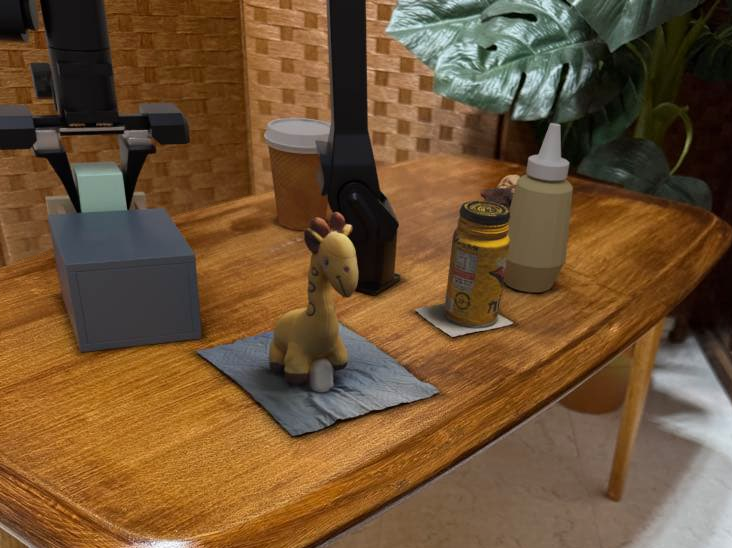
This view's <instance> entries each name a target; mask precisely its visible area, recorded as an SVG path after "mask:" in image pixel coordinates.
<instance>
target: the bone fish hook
mask: <svg viewBox="0 0 732 548" xmlns="http://www.w3.org/2000/svg"><path fill="white" fill-rule="evenodd" d="M520 177H521V176H520V175H518V174H508V175H506V176H504V177H503V178H502V179H501V181H500V182H499V183H498V185H497V187H495V188H492V189H491V188H486V189H482V190H480V194H479V195H480V196H481V197H482V198H483V199H484V201H487V202H494V203H498V204H501V205H503V206H505V207H506V208H507V209H508V210H510V206H511V202H512V198H513V194H514V190H515V186H516V182H517V179H519V178H520Z"/></svg>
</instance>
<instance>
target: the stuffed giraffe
mask: <svg viewBox="0 0 732 548" xmlns="http://www.w3.org/2000/svg"><path fill="white" fill-rule="evenodd" d="M328 221H329V223H327V222H326V220H323V219H321V218H314V219H313V220H312V221H311V224H310V228H309V229H305V230H304V232H303V234H304V235H303V240H304V243H305V245H306V248H307V249H308V250H309V251H310V252H311V256H310V263H309V269H308V273H307V300H308V303H307V307H302V308H296V309H293V310H290V311H288V312H286V313H285V314H283V315H282V316H281V317H280V318H279V320H278V321H277V322H276V325H275V326H274V330H273V331H271V330H270V331H266V332H262V333H259V334H256V335H253V336H248V337H244V338H239V339H237V340H235V341H234V342H233V343H226V344H219V345H217V346H214V347H211V348H205V349H199V350H196V351H195V352H196V353H197V354H199V355H200V356H201V357H203V358H204V359H205V360H207V361H209V362H210V363H212V365H214V366H215V367H216V368H217V369H219V370H220V371H222V372H223V373H224V374H225V375H227V376H228V377H230V378H231V379H232V380H234V381H235V382H236V383H237V384H239V386H240V387H242V388H243V389H244V390H245V391H246V392H247V393H249V394H250V396H251V397H253V399H254V400H255V401H256V402H258V403H259V404H260V405H261V406H262V407H263V408H264V409H265V410H266V411H267V412H269V414H270V415H272V417H273V418H274V420H276V421H277V422H278V424H279V425H281V427H282V428H283V429H284V430H286V431H287V432H288V433H289V434H290V435H291V436H293V437H294V436H297V435H298V436H300V435H303V434H305V433H311V432H316V431H319V430H322V429H324V428H326V427H329V426H331V425H333V424H334V423H336V421H337V420H339V419H340V420H345V419H346V420H347V419H350V418H356V417H359V416H363V415H365V414H367V413H370V412H371V411H379V410H384V409H387V408H389V407H393V406H397V405H400V404H402V403H404V404H405V403H412V402H414V401H418V400H423V399H427V398H430V397H433V395H436V394H437V393H440V390H439V389H438V388H436V387H435V386H434V385H433V384H431V383H428V382H423V381H421V380H419V379H418V378H417V377H415V375H413V374H412V373H411V372H409V371H408V369H406V367H404V366H402V364H401V363H400V362H399V361H398V360H396V359H395V358H392V356H390V355H389V354H387V353H386V352H384V351H382V350H381V349H380V348H378V346H377V345H375V344H374V343H372V342H370V341H369V340H368V339H366V338H365V337H363V336H362V335H360V334H358V333H356V332H354V331H353V330H351V329H350V328H348V327H347V326H345V325H344V324H342V323H341V322H339V318H338V315H337V312H336V309H337V308H336V305H335V303H334V297H333V294H332V290H331V287H332V288H333V290H334V291H335V292H337V293H338V294H339V295H340V296H341V297H342V298H350V297H352V295H353V294H354V292H355V291H356V290H355V289H356V287H357V282H358V266H357V258H356V252H355V248H354V246H353V243H352V242H351V241H350V239H349V238H348V236H349V235H350V234H351V233H352V229H353V228H352V225H349V224H345V219H344V217H343V216H342V215H341V214H340V213H338V212H334V213H333V212H332V214H331V215H330V217H329V220H328Z"/></svg>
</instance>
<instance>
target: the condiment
mask: <svg viewBox="0 0 732 548" xmlns="http://www.w3.org/2000/svg"><path fill="white" fill-rule="evenodd" d="M509 219H510V211H509V210H508V209H507V208H506V207H505V206H503V205H501V204H498V203H494V202H487V201H485V200H469V201H466V202H463V204H462V205H461V206H460V209H459V217H458V220H457V227H456V229H455V230H454V231H453V234H452V239H451V241H452V242H451V248H450V249H451V250H450V257H449V267H448V273H447V274H448V275H447V284H446V293H445V301H444V303H440V304H439V303H438V304H436V305H431V306H427V307H425V306H424V307H422V306H421V307H418V308H414V311H416V312H417V313H418V315H420V316H421V317H422V318H424V319H425V320H426V321H428V322H429V323H431V324H432V325H433V326H434V327H435V328H437V329H439V330H441V332H443V333H445V334H446V335H449V336H450V337H451V338H454V337H458V336H464V335H466V334H471V333H475V332H482V331H483V332H484V331H489V330H492V329H497V328H502V327H508V326H511V325H513V324H514V322H513V321H512V320H509V319H507V318H506V317H505V316H502V315H501V314H499V313H500V307H501V303H502V302H501V301H502V297H503V295H502V293H503V288H504V283H505V282H504V276H505V269H506V262H507V256H508V252H509V244H510V238H509V236H508V234H507V233H508V230H509V227H508V225H509Z"/></svg>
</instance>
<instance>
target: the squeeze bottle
mask: <svg viewBox="0 0 732 548" xmlns="http://www.w3.org/2000/svg"><path fill="white" fill-rule="evenodd" d="M561 137H562V136H561V124H559V123H555V122H550V123H549V125H548V129H547V131H546V133H545V136H544V138H543V141H542V144H541V147H540V149H539V152H538V154H533V155H530V156H529V157H528V158H527V164H526V172H525V173H526V174H524V175H521V176H520V178H519V179H517V182H516V186H515V190H514V194H513V198H512V202H511V206H510V210H509V211H510V219H509V225H508V227H509V230H508V233H507V234H508V236H509V238H510V244H509V252H508V256H507V262H506V269H505V276H504V282H503V283H504V284H505V285H506V286H508V287H509V288H511V289H514V290H517V291H521V292H526V293H543V292H547V291H549V290H550V289H552V287H553V285H554V283H555V282H556V280H557V278H558V276H559V274H560V273H561V271H562V270H563V267H564V265H565V264H566V262H567V251H568V241H569V233H570V231H569V230H570V222H571V221H570V220H571V211H572V201H573V190H574V186H573V185H572V184H571V183H570V181H568V180H567V178H568V174H569V168H570V161H568V160H567V159H566V158H564V157H562V148H561V147H562V141H561V139H562V138H561Z"/></svg>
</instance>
